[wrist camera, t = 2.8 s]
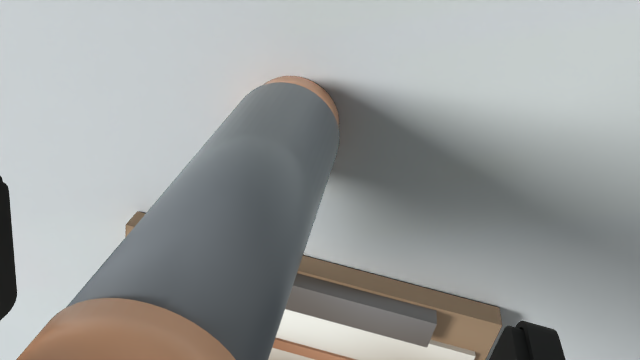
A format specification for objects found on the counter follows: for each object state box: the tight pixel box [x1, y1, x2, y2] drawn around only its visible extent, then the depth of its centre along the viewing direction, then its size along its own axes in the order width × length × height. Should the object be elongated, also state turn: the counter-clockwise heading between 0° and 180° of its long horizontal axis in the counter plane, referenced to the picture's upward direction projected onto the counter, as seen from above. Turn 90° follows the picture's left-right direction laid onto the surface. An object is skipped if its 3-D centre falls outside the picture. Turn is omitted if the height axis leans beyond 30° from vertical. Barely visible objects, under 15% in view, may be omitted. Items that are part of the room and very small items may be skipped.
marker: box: [16, 76, 340, 360], centre depth 11 cm, size 3×3×10 cm
